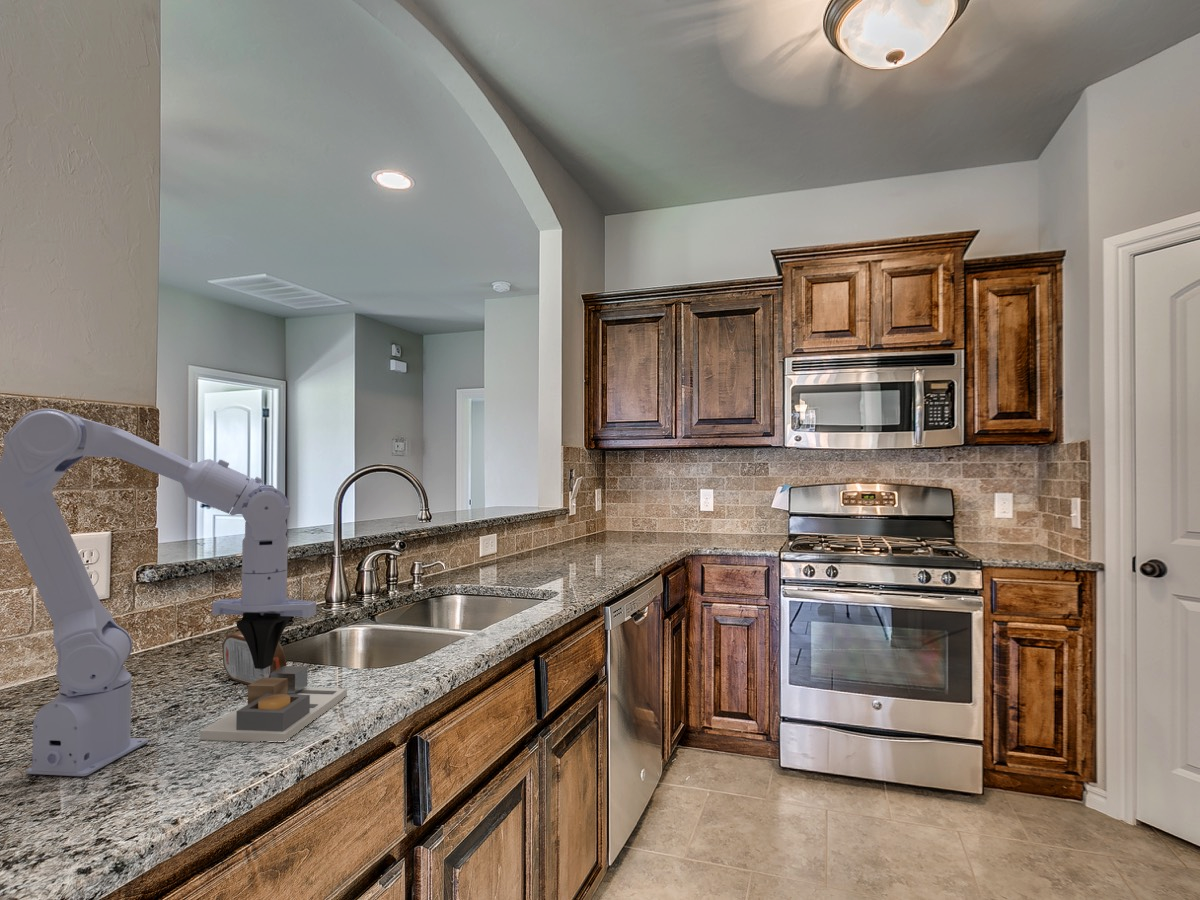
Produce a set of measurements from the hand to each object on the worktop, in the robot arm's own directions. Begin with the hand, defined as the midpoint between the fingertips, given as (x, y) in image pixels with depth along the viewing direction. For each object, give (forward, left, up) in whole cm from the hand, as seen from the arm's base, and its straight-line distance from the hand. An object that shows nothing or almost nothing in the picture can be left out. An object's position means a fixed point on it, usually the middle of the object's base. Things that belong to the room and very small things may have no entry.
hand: (263, 666), depth 90 cm
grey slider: (+10, +2, -7) cm, 12 cm away
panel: (+3, 0, -8) cm, 9 cm away
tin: (+16, +13, -9) cm, 22 cm away
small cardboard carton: (+4, +2, -7) cm, 8 cm away
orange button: (-1, -2, -7) cm, 7 cm away
